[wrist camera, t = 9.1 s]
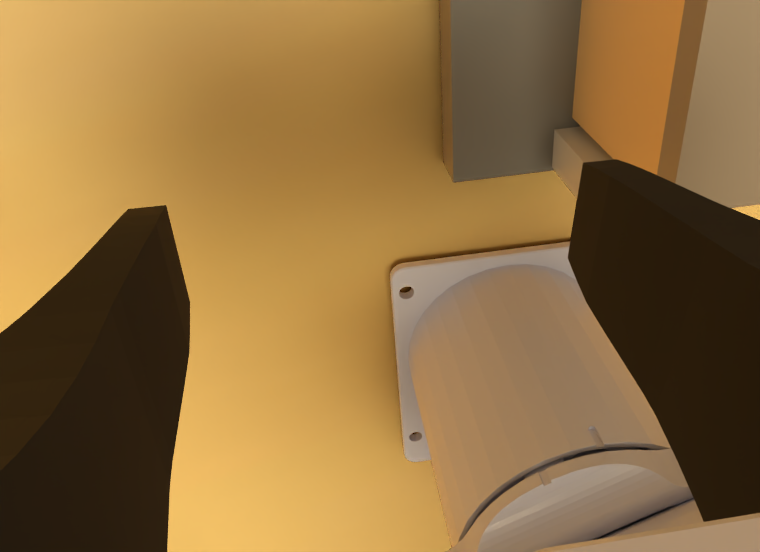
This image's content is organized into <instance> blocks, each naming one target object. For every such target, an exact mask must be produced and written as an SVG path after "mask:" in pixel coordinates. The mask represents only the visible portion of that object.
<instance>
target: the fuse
mask: <svg viewBox="0 0 760 552" xmlns="http://www.w3.org/2000/svg"><path fill="white" fill-rule="evenodd" d="M572 118H573V119H574V120H575V121H576V122H577V123H578V124H579V125H580V126H581V127H582V128H583V129H584V130H585V131H586V132H587V133H588V134H589V135H590V136H591V137H592V138H593V139H594V140H595V141H596V142H597V143H598V144H599V145H600V146H601V147H602V148H603V149H604V150H605V151H606V152H607V153H608V154H609V155H610V156H611V157H612V158H613V159H617V160H620V161H623V162H626V163H629V164H632V165H634V166H637V167H639V168H642V169H644V170H646V171H649V172H651V173H653V174H656V175H658V176H660V177H662V178H664V179H667V180H669V181H671V182H673V183H675V184H678V185H680V186H682V187H684V188H686V189H688V190H691V191H693V192H695V193H697V194H699V195H702V196H704V197H706V198H708V199H710V200H713V201H715V202H717V203H719V204H722V205H724V206H726V207H729V208H735V207H743V206H750V205H758V204H760V0H582V4H581V16H580V28H579V40H578V52H577V64H576V76H575V89H574V101H573V113H572Z"/></svg>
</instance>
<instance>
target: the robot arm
mask: <svg viewBox="0 0 760 552" xmlns="http://www.w3.org/2000/svg"><path fill="white" fill-rule="evenodd" d="M406 286H408V287H411V288H412V289H411V290H410V291H409V292H406V293H403V292H400V290H401V289H402V288H403V287H406ZM390 287H391V299H392V312H393V325H394V338H395V350H396V363H397V376H398V388H399V401H400V414H401V427H402V439H403V451H404V455H405V458H406V459H407V460H408V461H412V462H419V461H426V460H431V462H432V466H433V471H434V475H435V479H436V483H437V487H438V491H439V496H440V500H441V504H442V508H443V512H444V516H445V521H446V525H447V529H448V533H449V537H450V541H451V546H452V548H451V549H449V550H448V551H446V552H760V220H758V219H755V218H753V217H750V216H748V215H745V214H743V213H740V212H738V211H736V210H733V209H731V208H729V207H726V206H724V205H722V204H719V203H717V202H715V201H713V200H710V199H708V198H706V197H704V196H702V195H699V194H697V193H695V192H693V191H691V190H688V189H686V188H684V187H682V186H680V185H678V184H675V183H673V182H671V181H669V180H667V179H664V178H662V177H660V176H658V175H656V174H653V173H651V172H649V171H646V170H644V169H642V168H639V167H637V166H634V165H632V164H629V163H626V162H623V161H620V160H617V159H613V160H604V161H594V162H584V163H583V165H582V171H581V178H580V184H579V190H578V196H577V202H576V209H575V215H574V221H573V227H572V233H571V240H570V241H569V242H561V243H553V244H546V245H538V246H530V247H522V248H515V249H507V250H499V251H491V252H484V253H476V254H468V255H460V256H453V257H445V258H437V259H429V260H422V261H414V262H406V263H401V264H398V265H397V266H395V267H394V268H393V269H392V271H391V272H390ZM189 342H190V301H189V297H188V293H187V289H186V284H185V280H184V276H183V272H182V268H181V264H180V260H179V256H178V252H177V248H176V244H175V240H174V236H173V232H172V228H171V223H170V219H169V215H168V211H167V207H166V205H164V206H155V207H145V208H135V209H128V210H127V211H126V212H125V213H124V214H123V215H122V216H121V217H120V218H119V219H118V220H117V221H116V222H115V223H114V225H113V226H112V227H111V228H110V229H109V230H108V231H107V232H106V233H105V234H104V236H103V237H102V238H101V239H100V240H99V241H98V242H97V243H96V244H95V245H94V246H93V248H92V249H91V250H90V251H89V252H88V253H87V254H86V255H85V256H84V257H83V258H82V259H81V260H80V261H79V262H78V263H77V264H76V265H75V266H74V267H73V269H72V270H71V271H70V272H69V273H68V274H67V275H66V276H65V277H63V278H62V279H61V280H60V281H59V282H58V283H57V284H56V285H55V286H54V287H53V288H52V289H51V290H50V291H49V292H47V293H46V294H45V295H44V296H43V297H42V298H41V299H40V300H39V301H38V302H37V303H36V304H35V305H34V306H33V307H31V308H30V309H29V310H28V311H27V312H26V313H25V314H23V315H22V316H21V317H20V318H19V319H18V320H16V321H15V322H14V323H13V324H11V325H10V326H9V327H8V328H6V329H5V330H4V331H3V332H1V333H0V552H167V538H168V514H169V491H170V479H171V469H172V460H173V454H174V448H175V441H176V435H177V429H178V422H179V416H180V410H181V403H182V397H183V391H184V384H185V377H186V371H187V364H188V357H189ZM414 432H418V433H417V434H412V433H414Z"/></svg>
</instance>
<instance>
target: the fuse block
mask: <svg viewBox="0 0 760 552" xmlns="http://www.w3.org/2000/svg"><path fill="white" fill-rule="evenodd" d="M581 4H582V0H439V6H440V46H441V87H442V127H443V162H444V164H445V166H446V168H447V170H448V173H449V175H450V177H451V179H452V181H453V182H462V181H470V180H478V179H486V178H494V177H502V176H511V175H519V174H527V173H535V172H543V171H551V170H554V171H555V172H556V173H557V175H558V176H559V177H560V178H561V180H562V181H563V182H564V183H565V185H566V186H567V187H568V188H569V190H570V191H571V192H572V193H573V195H574V196H575V197H576V198H577V196H578V190H579V184H580V178H581V171H582V165H583V163H584V162H594V161H604V160H613V158H612V157H611V156H610V155H609V154H608V153H607V152H606V151H605V150H604V149H603V148H602V147H601V146H600V145H599V144H598V143H597V142H596V141H595V140H594V139H593V138H592V137H591V136H590V135H589V134H588V133H587V132H586V131H585V130H584V129H583V128H582V127H581V126H580V125H579V124H578V123H577V122H576V121H575V120H574V119H573V118H572V113H573V101H574V89H575V76H576V64H577V52H578V40H579V28H580V16H581Z"/></svg>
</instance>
